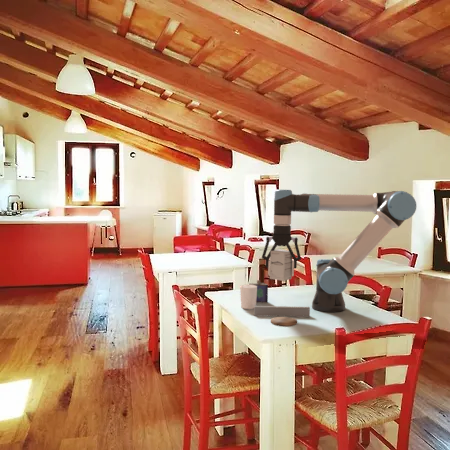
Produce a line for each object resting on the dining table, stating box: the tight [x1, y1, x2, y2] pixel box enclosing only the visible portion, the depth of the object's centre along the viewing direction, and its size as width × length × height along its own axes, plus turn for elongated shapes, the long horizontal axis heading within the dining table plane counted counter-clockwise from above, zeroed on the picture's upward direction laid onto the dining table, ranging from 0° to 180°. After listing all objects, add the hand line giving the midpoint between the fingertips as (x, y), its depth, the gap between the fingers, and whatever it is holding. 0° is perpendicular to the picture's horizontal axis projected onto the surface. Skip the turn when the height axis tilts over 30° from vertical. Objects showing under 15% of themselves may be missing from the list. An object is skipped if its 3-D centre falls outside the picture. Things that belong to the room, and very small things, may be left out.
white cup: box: [239, 284, 257, 310], centre depth 232 cm, size 8×8×10 cm
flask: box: [248, 279, 269, 304], centre depth 243 cm, size 9×3×11 cm, turn 79°
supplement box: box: [269, 248, 293, 282], centre depth 219 cm, size 7×7×13 cm
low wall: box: [253, 305, 311, 318], centre depth 218 cm, size 24×2×4 cm, turn 88°
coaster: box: [270, 316, 298, 327], centre depth 208 cm, size 11×11×1 cm
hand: (280, 275), depth 220 cm, fingers closed on supplement box, 10 cm apart
